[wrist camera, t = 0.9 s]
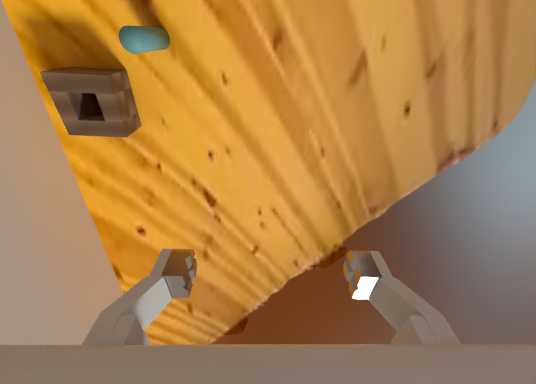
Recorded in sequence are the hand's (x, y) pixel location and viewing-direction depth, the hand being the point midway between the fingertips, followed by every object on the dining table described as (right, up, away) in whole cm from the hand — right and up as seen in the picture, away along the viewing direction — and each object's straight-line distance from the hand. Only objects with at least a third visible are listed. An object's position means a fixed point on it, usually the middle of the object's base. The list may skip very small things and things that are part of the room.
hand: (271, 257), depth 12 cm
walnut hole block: (-30, +21, +31) cm, 48 cm away
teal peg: (-18, +29, +25) cm, 42 cm away
